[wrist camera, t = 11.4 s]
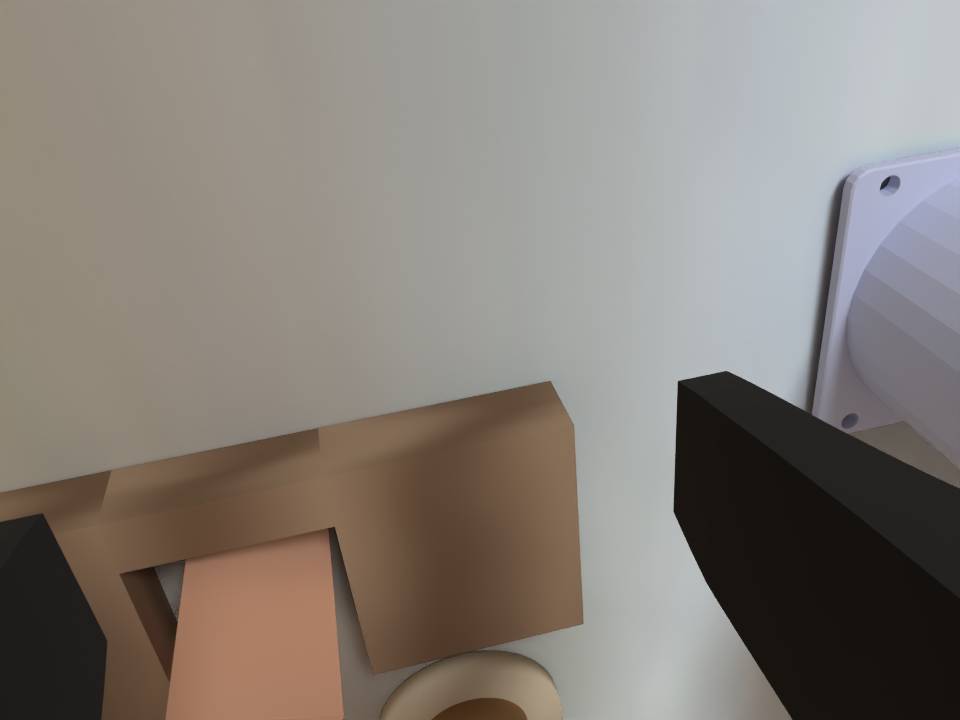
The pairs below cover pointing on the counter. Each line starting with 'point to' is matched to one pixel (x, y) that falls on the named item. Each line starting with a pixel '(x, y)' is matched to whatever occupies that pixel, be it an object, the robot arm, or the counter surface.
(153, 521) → the notched board
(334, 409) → the counter surface
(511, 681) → the bobbin
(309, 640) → the salmon pink cuboid
